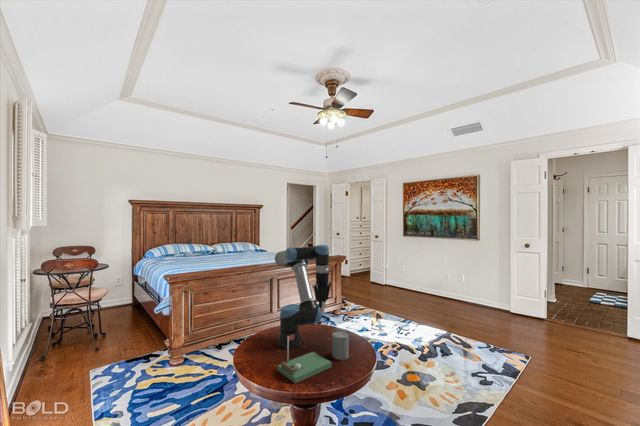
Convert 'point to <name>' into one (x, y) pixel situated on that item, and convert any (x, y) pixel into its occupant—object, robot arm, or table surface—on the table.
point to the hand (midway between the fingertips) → (321, 312)
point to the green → (303, 365)
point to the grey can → (340, 345)
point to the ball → (297, 367)
